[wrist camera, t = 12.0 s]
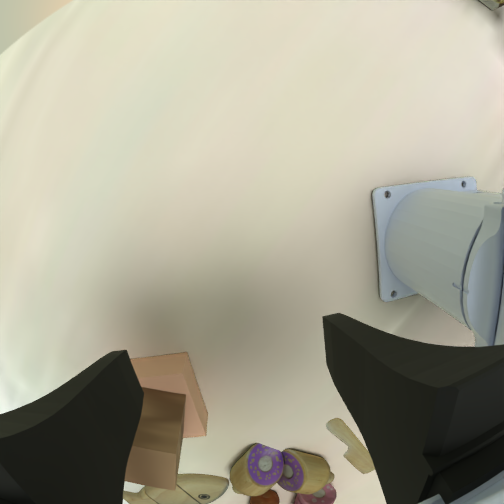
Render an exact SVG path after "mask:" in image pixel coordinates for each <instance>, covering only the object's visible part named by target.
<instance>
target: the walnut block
mask: <svg viewBox="0 0 504 504" xmlns="http://www.w3.org/2000/svg"><path fill="white" fill-rule="evenodd" d="M142 389H143V392H144V398H143V406H142V413H141V417H140V421H139V424H138V428H137V431H136V434H135V438H134V441H133V445H132V448H131V451H130V455H129V458H128V462H127V467H126V473H125V481H128V482H132V483H136V484H141V485H146V486H151V487H156V488H161V489H167V490H173V491H175V489H176V482H177V475H178V467H179V460H180V453H181V446H182V440H183V431H184V416H185V402H186V394H179V393H173V392H167V391H161V390H156V389H150V388H145V387H142Z"/></svg>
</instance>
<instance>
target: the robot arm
mask: <svg viewBox="0 0 504 504" xmlns="http://www.w3.org/2000/svg"><path fill="white" fill-rule="evenodd" d="M462 182H463V186H462V185H461V184H462ZM385 191H388V197H387V198H385V196H384V193H385ZM372 198H373V207H374V216H375V227H376V238H377V251H378V267H379V288H380V298H381V299H382V300H383V301H384V302H389V301H393V300H397V299H400V298H404V297H407V296H411V295H414V294H418V293H419V294H420V295H422V296H423V297H425V298H426V299H428V300H429V301H431V302H432V303H433V304H435V305H436V306H438V307H439V308H441V309H442V310H444V311H445V312H446V313H448V314H449V315H451V316H452V317H453V318H455V319H456V320H458V321H459V322H460V323H462V324H463V325H465V326H466V327H467V328H469V329H470V330H472V331H473V333H474V335H475V347H454V346H443V345H434V344H428V343H422V342H418V341H413V340H409V339H405V338H402V337H398V336H395V335H392V334H389V333H386V332H384V331H381V330H378V329H376V328H373V327H371V326H369V325H366V324H364V323H362V322H360V321H357V320H355V319H353V318H351V317H348V316H346V315H344V314H341V313H336V314H332V315H328V316H323V328H324V339H325V350H326V363H327V366H328V369H329V372H330V374H331V377H332V380H333V382H334V385H335V387H336V388H337V390H338V392H339V394H340V396H341V397H342V399H343V401H344V403H345V405H346V406H347V408H348V410H349V412H350V413H351V415H352V417H353V419H354V421H355V422H356V424H357V426H358V428H359V430H360V432H361V434H362V436H363V438H364V441H365V443H366V446H367V448H368V451H369V453H370V456H371V459H372V461H373V464H374V467H375V470H376V472H377V475H378V478H379V481H380V484H381V487H382V490H383V493H384V496H385V500H386V503H387V504H504V188H503V190H502V194H501V193H495V192H487V191H480V190H477V185H476V180H475V178H474V177H460V178H451V179H442V180H433V181H425V182H417V183H409V184H401V185H393V186H386V187H379V188H376V189H375V190H374V191H373V193H372ZM392 291H395V292H394V294H393V295H392V296H391V293H392ZM143 398H144V392H143V389H142V387H141V385H140V382H139V380H138V378H137V375H136V373H135V370H134V368H133V365H132V363H131V360H130V358H129V355H128V353H127V350H121V351H112V352H110V353H108V354H107V355H105V356H103V357H102V358H100V359H99V360H97V361H96V362H95V363H93V364H92V365H90V366H89V367H88V368H86V369H85V370H84V371H82V372H81V373H79V374H78V375H77V376H75V377H74V378H72V379H71V380H69V381H68V382H66V383H65V384H63V385H62V386H60V387H59V388H57V389H56V390H54V391H52V392H51V393H49V394H47V395H45V396H43V397H42V398H40V399H38V400H36V401H34V402H32V403H29V404H27V405H24V406H22V407H20V408H17V409H15V410H12V411H9V412H6V413H3V414H0V504H122V503H123V489H124V481H125V473H126V467H127V462H128V458H129V455H130V451H131V448H132V445H133V441H134V438H135V434H136V431H137V428H138V424H139V421H140V417H141V413H142V406H143Z"/></svg>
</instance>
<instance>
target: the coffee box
mask: <svg viewBox="0 0 504 504" xmlns="http://www.w3.org/2000/svg"><path fill="white" fill-rule="evenodd" d="M479 1H481V2H482V3H483V4H485V5H486V6H487V7H488V8H490V9H491V10H495V9H497V8H499V7H501V6H503V5H504V0H479Z"/></svg>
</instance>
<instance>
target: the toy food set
mask: <svg viewBox="0 0 504 504" xmlns="http://www.w3.org/2000/svg"><path fill="white" fill-rule="evenodd" d="M326 427H327V429H328V430H329V431H330V432H331V433H333V434H334V435H335V436H336V437H337V438H339V439H340V440H341V441H342V442H344V443H345V444H346V445H348V447H349V448H348V450H347V452H346V453H345V454H344V455H343V456H344V457H345V458H346V459H347V460H348V461H349V462H350V463H351V464H352V465H353V466H354V467H355V468H356V469H358V470H359V471H360V472H361V473H363V474H366V473H369V472H371V471H373V470H374V469H375V467H374V464H373V461H372V459H371V456H370V453H369V452H368V451H367V449H366V448H365V447H364V446H363V444H362V443H361V442H360V441H359V440H358V438H357V437H356V436H355V435H354V434H353V432H352V431H351V430H350V429H349V427H348V426H347V425H346V424H345V423H344V422H343V421H342V420H341V419H339V418H335V419H332V420H330V421H329V422H327V424H326ZM333 480H334V474H333V473H332V472H330V467H329V465H328V463H327V461H326V460H325V459H323V458H321V457H319V456H315V455H311V454H307V453H303V452H299V451H295V450H291V449H285V450H283V451H282V452H280V451H279V450H276V449H273V448H270V447H267V446H264V445H262V444H259V443H255V444H254V445H253V446H252V447H251V448H250V449H249V450H248V451H247V452H246V453H245V454H244V455H243V456H242V457H241V458H240V459H239V460H238V461H237V462H236V464H235V465H234V466H233V467H232V469H231V471H230V481H231V483H232V485H233V487H232V488H233V490H234V492H235V493H238V494H244V495H247V496H251V499H250V504H279V497H278V495H277V493H276V492H274V491H273V490H269V489H270V488H271V487H273V486H274V485H275V484H276V483H278V484H279V485H280V486H281V487H282V488H283V489H285V490H287V491H290V492H294V493H298V494H297V496H296V499H295V502H294V504H333V503H334V501H335V499H336V490H335V488H334V487H333V486H332V485H331V484H329V483H331V482H332V481H333ZM228 486H229V480H228V479H226V478H223V477H219V476H213V475H205V474H178V475H177V482H176V489H175V491H173V490H167V489H161V488H156V487H151V486H146V485H145V487H143V488H142V490H141V491H140V492H138V493H132V492H128V491H123V499H124V500H126V501H127V502H128V503H129V504H208V503H211V502H213V501H215V500H216V499H218V498H219V497H220V496H222V495H223V494H224V492H225V491H226V490H227V488H228Z"/></svg>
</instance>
